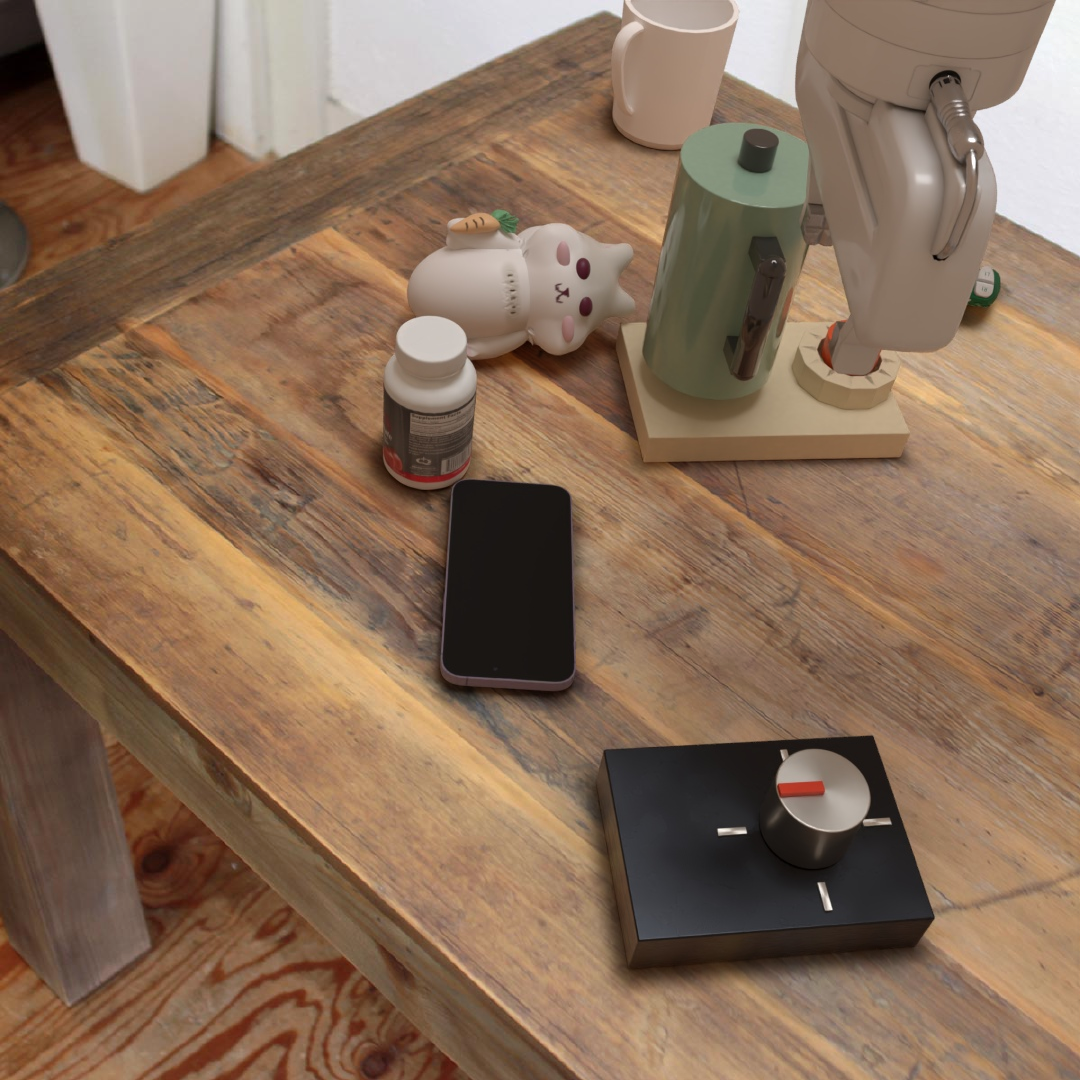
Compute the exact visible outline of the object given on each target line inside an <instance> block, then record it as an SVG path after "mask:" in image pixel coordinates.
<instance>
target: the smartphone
mask: <svg viewBox="0 0 1080 1080" xmlns="http://www.w3.org/2000/svg"><path fill="white" fill-rule="evenodd" d="M449 505H450V506H449V518H448V519H449V520H448V534H447V536H448V537H447V550H446V551H447V552H446V566H445V567H446V568H445V581H444V582H445V583H444V593H443V602H442V605H443V606H442V628H441V629H442V631H441V643H440V644H441V646H440V659H439V669H440V673H441V676H442V677H443V679H444V680H446V681H447V682H448V683H450V684H453V685H456V686H462V687H463V686H464V687H465V686H466V687H480V688H495V689H515V690H530V691H543V692H544V691H546V692H559V691H564V690H567V689H568V688H569V687H570V686H571V685H572V684H573V683H574V680H575V676H576V670H577V641H576V601H575V569H574V568H575V566H574V529H573V528H574V525H573V498H572V494H571V493H570V491H568V489H566V488H565V487H563V486H560V485H557V484H551V483H535V482H523V481H522V482H521V481H507V480H495V479H492V480H491V479H481V478H463V479H459V480H458V481H457V482H455V483H453V485H452V488H451V491H450V504H449Z"/></svg>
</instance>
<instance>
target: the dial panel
mask: <svg viewBox="0 0 1080 1080" xmlns="http://www.w3.org/2000/svg"><path fill="white" fill-rule="evenodd" d="M806 749H822V750H827V751H831V752H834V753H836V754H838V755H841V756H842V757H844V758H846V759H847V760H849V761H850V762H851V763H852V764H853V765H855V766H856V767H857V768H858V770H859V771H860V772H861V773H862V775H863V776H864V778H865V780H866V782H867V784H868V787H869V791H870V797H871V801H870V808H869V811H868V814H867V815H866V817H865V819H864V821H863V823H862V824H861V826H860V828H859V830H858V832H857V834H856V835H855V837H854V839H853V841H852V843H851V844H850V846H849V848H848V850H847V852H846V853H845V855H844V856H843V857H842V858H841V859H840V860H839V861H838V862H836V863H835V864H833V865H831V866H828V867H825V868H819V869H807V868H801V867H798V866H795V865H792V864H790V863H788V862H786V861H785V860H783V859H781V858H780V857H779V856H778V855H776V854H775V853H774V852H773V851H772V850H771V848H770V847H769V846H768V844H767V843H766V841H765V839H764V837H763V835H762V832H761V829H760V822H759V818H760V811H761V808H762V806H763V803H764V801H765V799H766V797H767V794H768V792H769V790H770V787H771V785H772V783H773V780H774V778H775V776H776V773H777V771H778V769H779V767H780V765H781V764H782V762H783V761H784V760H785V759H786V758H787V757H789V756H790V755H792V754H794V753H796V752H798V751H801V750H806ZM595 784H596V791H597V796H598V802H599V808H600V813H601V819H602V825H603V829H604V836H605V842H606V847H607V854H608V859H609V865H610V870H611V878H612V882H613V888H614V894H615V899H616V906H617V911H618V915H619V923H620V929H621V934H622V940H623V945H624V952H625V956H626V963H627V968H628V969H629V970H633V969H646V968H647V969H648V968H658V967H659V968H660V967H670V966H683V965H696V964H708V963H720V962H721V963H722V962H733V961H735V962H736V961H746V960H758V959H772V958H782V957H783V958H785V957H796V956H807V955H808V956H809V955H821V954H833V953H845V952H846V953H847V952H859V951H872V950H883V949H895V948H896V949H897V948H908V947H909V948H910V947H916V946H917V945H918V943H920V940H921V939H922V938H923V936H924V935H925V934H926V932H927V931H928V929H929V928H930V927H931V925H932V924H933V922H934V921H935V919H936V916H935V913H934V910H933V907H932V904H931V902H930V898H929V895H928V893H927V889H926V887H925V884H924V883H925V882H924V881H923V878H922V875H921V871H920V869H919V865H918V863H917V860H916V857H915V854H914V851H913V848H912V845H911V842H910V839H909V836H908V833H907V830H906V827H905V825H904V822H903V818H902V816H901V812H900V809H899V807H898V804H897V801H896V798H895V795H894V792H893V789H892V786H891V783H890V780H889V776H888V775H887V771H886V768H885V765H884V761H883V759H882V756H881V754H880V751H879V748H878V744H877V741H876V739H875V736H874V735H873V734H869V735H850V736H848V735H847V736H831V737H830V736H828V737H815V738H814V737H812V738H792V739H773V740H758V741H757V740H755V741H737V742H720V743H717V742H716V743H699V744H683V745H680V744H679V745H665V746H663V745H662V746H646V747H628V748H627V747H626V748H610V749H603V752H602V755H601V759H600V764H599V768H598V772H597V776H596V780H595Z"/></svg>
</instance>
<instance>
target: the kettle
mask: <svg viewBox="0 0 1080 1080" xmlns="http://www.w3.org/2000/svg"><path fill="white" fill-rule="evenodd" d="M808 159H809V148H808V144H807V141H806V142H805V141H804V140H802V138H799V137H797V136H795V135H793V134H791V133H788V132H787V131H784V130H781V129H778V128H775V127H771V126H767V125H762V124H759V123H749V122H723V123H717V124H712V125H711V124H710V126H708V127H705V128H702V129H700V130H698V131H696V132H695V133H693V134H692V135H690V136H689V137H688V138H687V139H686V141H685V142H684V144H683V146H682V148H681V149H680V152H679V157H678V162H677V167H676V172H675V176H674V182H673V186H672V192H671V196H670V197H671V198H670V200H669V201H670V202H669V207H668V212H667V215H666V222H665V227H664V232H663V236H662V242H661V246H660V247H661V248H660V251H659V255H658V256H659V257H658V260H657V261H658V262H657V268H656V272H655V276H654V282H653V287H652V293H651V297H650V302H649V307H648V312H647V316H646V322H645V323H646V326H645V331H644V336H643V341H642V353H643V357H644V359H645V362H646V364H647V365H648V367H649V369H650V370H651V371H652V372H653V373H654V374H655V375H656V376H657V377H658V378H659V379H660V380H661V381H662V382H664V383H665V384H667V385H668V386H670V387H672V388H674V389H676V390H678V391H680V392H682V393H685V394H688V395H691V396H694V397H699V398H703V399H711V400H729V399H736V398H740V397H744V396H747V395H749V394H752V393H753V392H755V391H757V390H758V389H760V388H761V387H762V386H763V385H764V384H765V383H766V382H767V381H768V379H769V378H770V376H771V373H772V370H773V367H774V363H775V360H776V357H777V353H778V350H779V347H780V343H781V340H782V337H783V333H784V330H785V327H786V323H787V322H788V320H789V316H790V313H791V310H792V306H793V303H794V299H795V297H796V293H797V291H798V286H799V284H800V280H801V278H802V277H801V276H802V273H803V270H804V266H805V263H806V259H807V257H808V253H809V250H810V246H811V245H809V244H807V243H805V241H804V239H803V235H802V231H801V228H800V223H799V219H800V216H801V212H802V209H803V205H804V202H805V198H806V185H807V172H808Z"/></svg>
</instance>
